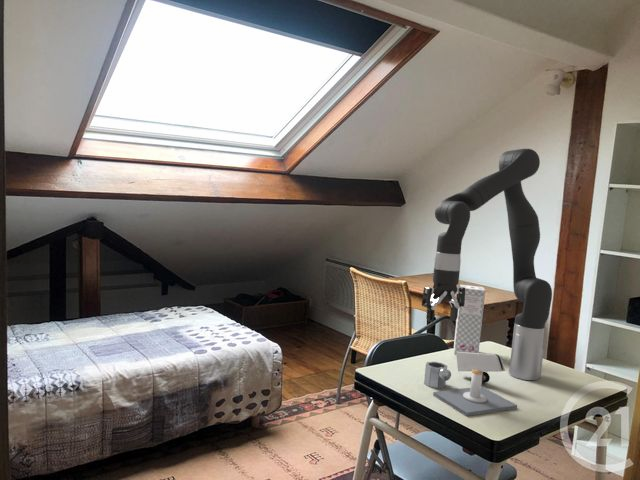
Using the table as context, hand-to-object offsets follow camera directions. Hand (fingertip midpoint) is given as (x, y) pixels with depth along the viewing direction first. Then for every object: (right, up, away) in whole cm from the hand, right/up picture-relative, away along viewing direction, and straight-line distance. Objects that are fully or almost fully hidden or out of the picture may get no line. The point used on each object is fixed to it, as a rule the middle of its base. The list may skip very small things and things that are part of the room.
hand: (441, 320), depth 149 cm
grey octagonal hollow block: (-2, -20, +2) cm, 20 cm away
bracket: (+9, -17, +12) cm, 22 cm away
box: (+18, -18, +38) cm, 46 cm away
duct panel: (+7, -21, -9) cm, 24 cm away
